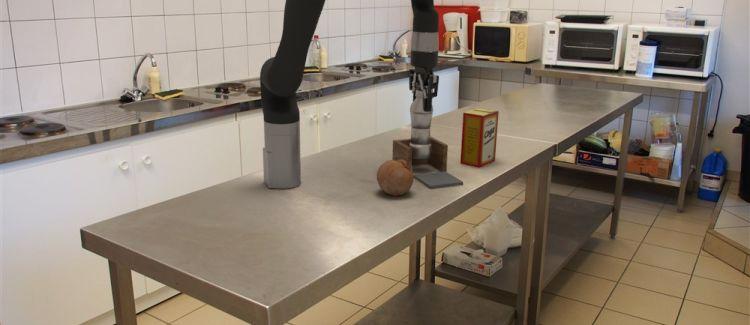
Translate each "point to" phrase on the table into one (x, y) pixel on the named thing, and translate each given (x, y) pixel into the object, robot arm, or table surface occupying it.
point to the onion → (395, 177)
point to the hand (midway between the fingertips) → (422, 108)
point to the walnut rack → (436, 159)
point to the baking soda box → (479, 137)
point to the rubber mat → (438, 180)
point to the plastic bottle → (420, 128)
